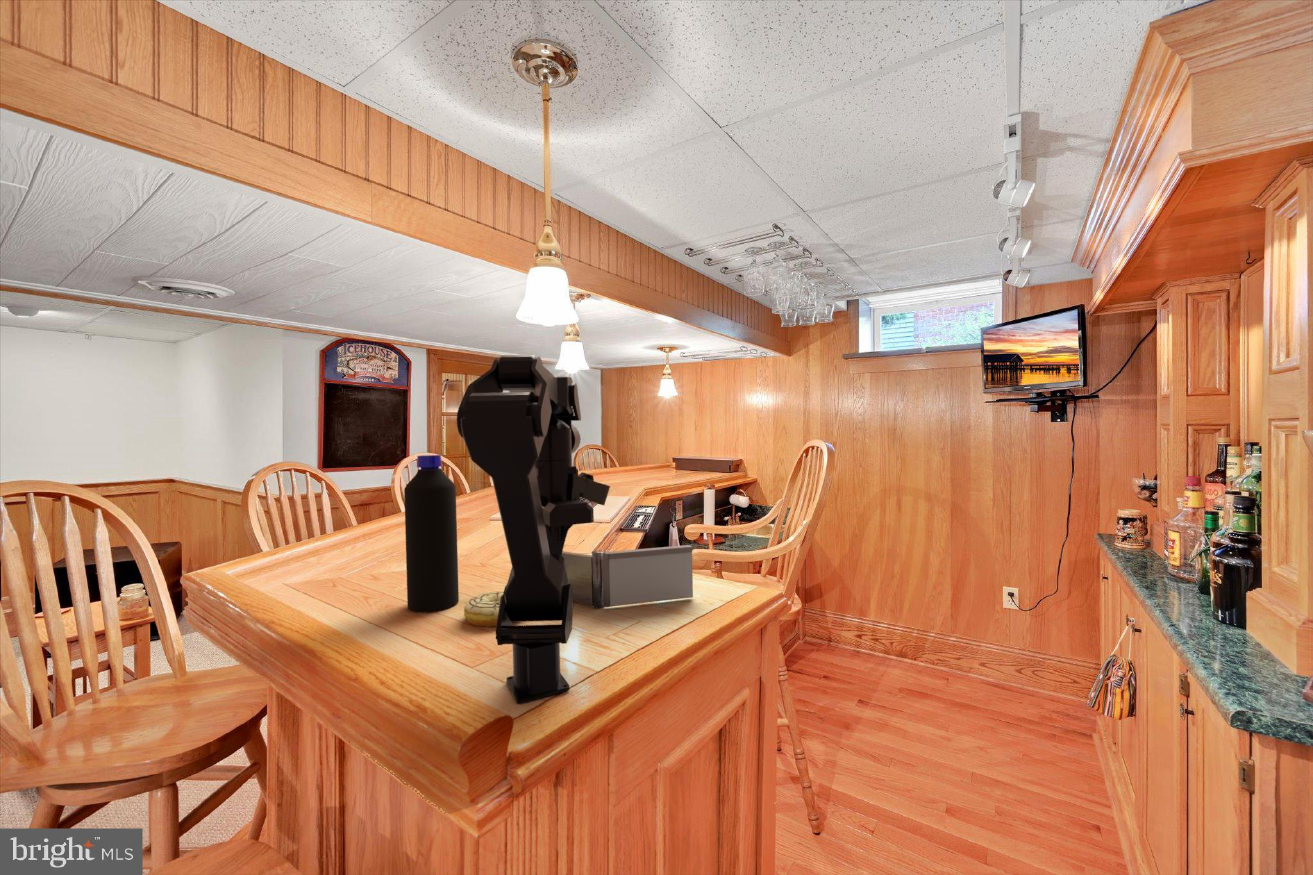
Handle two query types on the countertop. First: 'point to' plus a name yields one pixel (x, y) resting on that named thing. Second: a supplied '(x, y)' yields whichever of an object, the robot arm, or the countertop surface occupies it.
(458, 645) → the countertop surface
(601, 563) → the gate frame
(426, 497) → the bottle
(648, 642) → the countertop surface
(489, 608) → the decorated donut
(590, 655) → the countertop surface
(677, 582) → the gate leaf
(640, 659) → the countertop surface
